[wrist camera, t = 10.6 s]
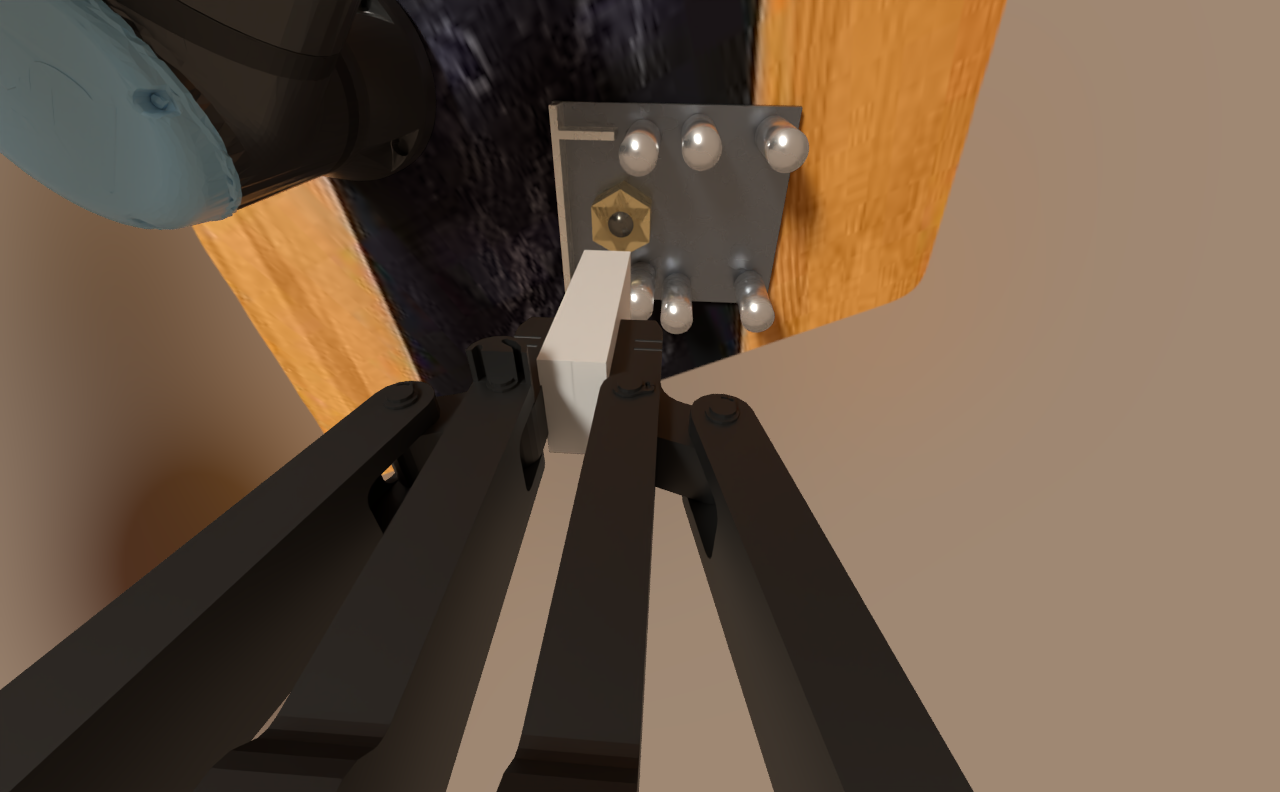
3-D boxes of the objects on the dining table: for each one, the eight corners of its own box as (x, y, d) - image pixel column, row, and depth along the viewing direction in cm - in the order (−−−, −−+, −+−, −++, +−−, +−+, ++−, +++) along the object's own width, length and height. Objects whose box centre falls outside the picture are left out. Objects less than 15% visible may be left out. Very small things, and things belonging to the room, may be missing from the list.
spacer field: (569, 292, 49) (554, 329, 43) (553, 100, 39) (530, 112, 33) (764, 300, 48) (777, 339, 42) (800, 105, 38) (824, 119, 32)
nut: (598, 244, 45) (593, 256, 43) (595, 179, 42) (590, 188, 39) (650, 246, 45) (648, 258, 43) (652, 181, 42) (650, 190, 39)
